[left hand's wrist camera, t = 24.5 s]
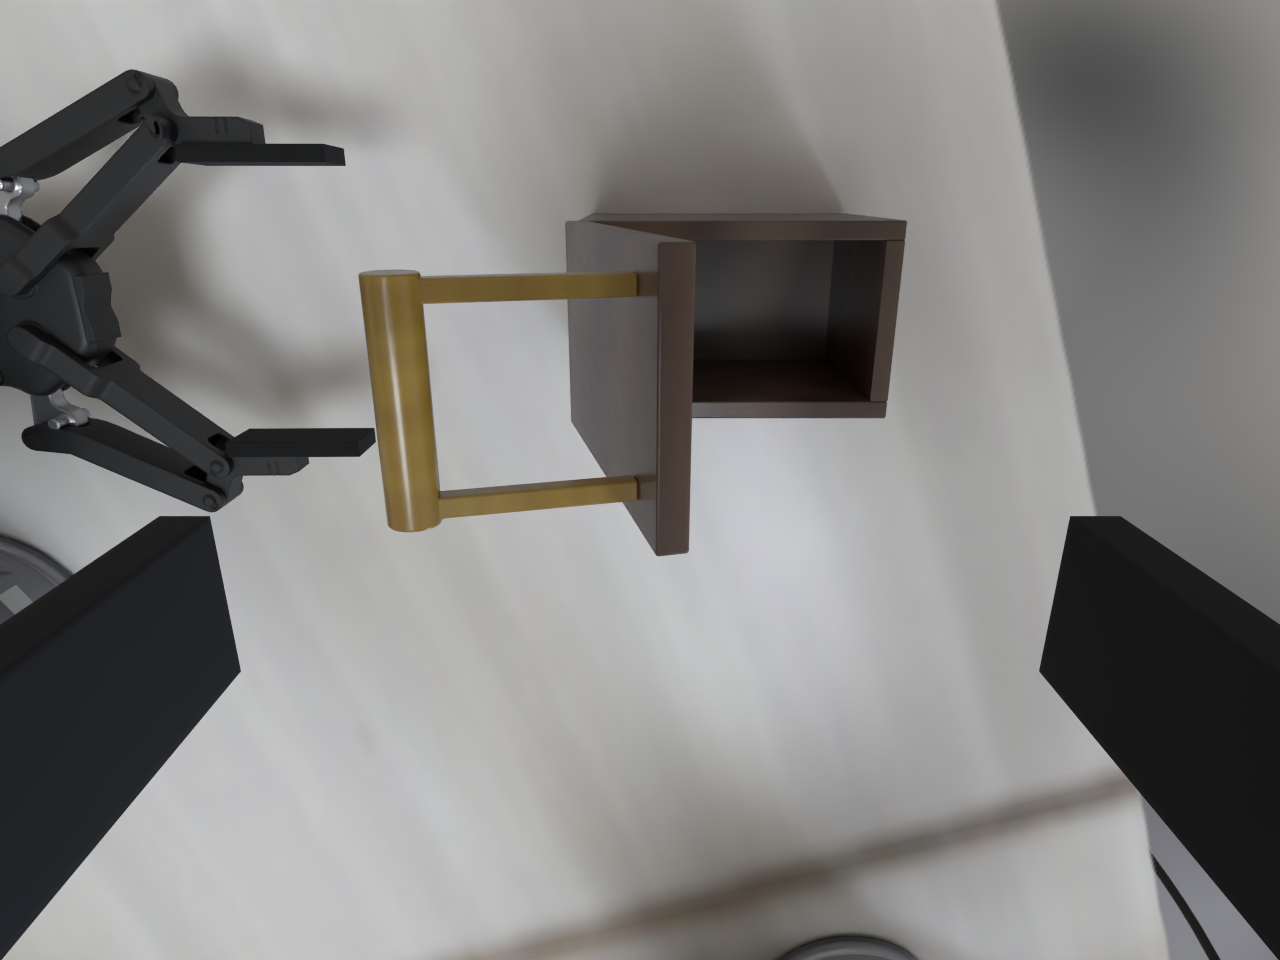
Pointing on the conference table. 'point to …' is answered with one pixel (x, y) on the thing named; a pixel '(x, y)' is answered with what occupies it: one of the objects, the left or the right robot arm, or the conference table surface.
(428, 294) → the lid
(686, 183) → the conference table surface
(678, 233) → the chest
